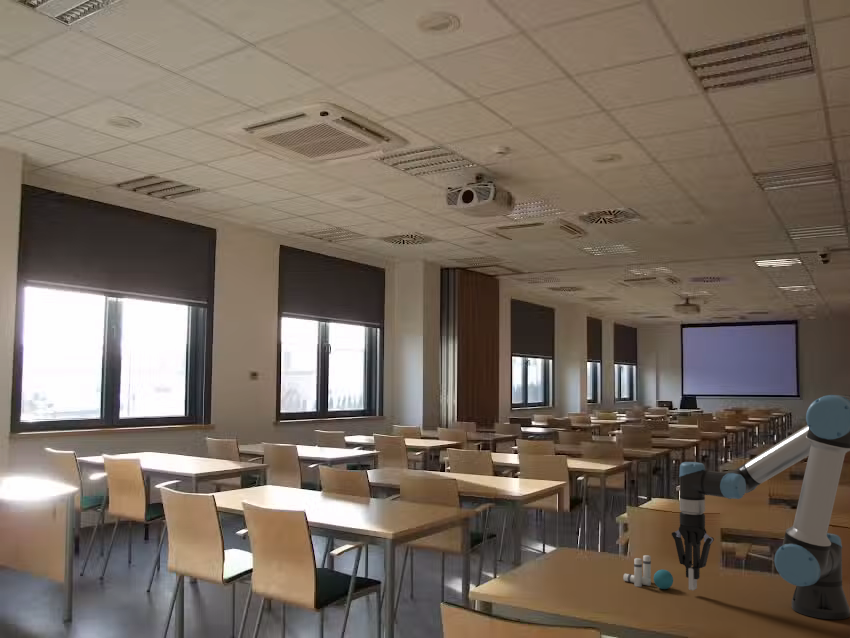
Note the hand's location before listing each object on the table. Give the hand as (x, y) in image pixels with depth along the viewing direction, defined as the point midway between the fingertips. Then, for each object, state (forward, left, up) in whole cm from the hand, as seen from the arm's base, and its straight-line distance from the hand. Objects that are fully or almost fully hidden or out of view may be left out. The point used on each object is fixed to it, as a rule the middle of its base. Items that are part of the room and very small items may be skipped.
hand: (692, 588), depth 237 cm
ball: (+9, +4, +1) cm, 10 cm away
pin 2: (+17, +3, -2) cm, 17 cm away
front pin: (+13, +5, -1) cm, 14 cm away
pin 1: (+15, +9, -2) cm, 17 cm away
